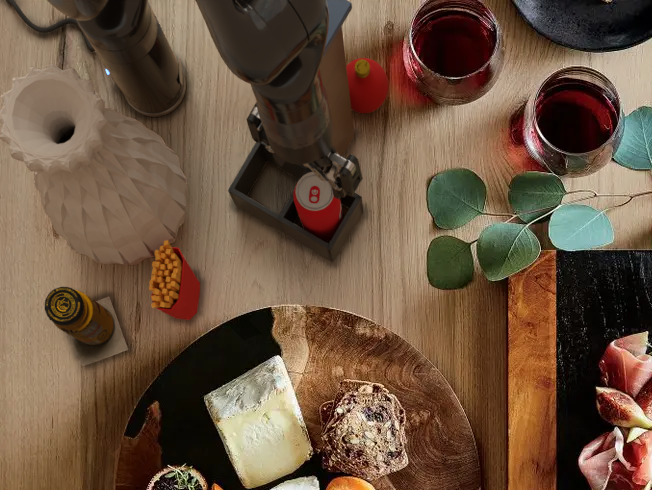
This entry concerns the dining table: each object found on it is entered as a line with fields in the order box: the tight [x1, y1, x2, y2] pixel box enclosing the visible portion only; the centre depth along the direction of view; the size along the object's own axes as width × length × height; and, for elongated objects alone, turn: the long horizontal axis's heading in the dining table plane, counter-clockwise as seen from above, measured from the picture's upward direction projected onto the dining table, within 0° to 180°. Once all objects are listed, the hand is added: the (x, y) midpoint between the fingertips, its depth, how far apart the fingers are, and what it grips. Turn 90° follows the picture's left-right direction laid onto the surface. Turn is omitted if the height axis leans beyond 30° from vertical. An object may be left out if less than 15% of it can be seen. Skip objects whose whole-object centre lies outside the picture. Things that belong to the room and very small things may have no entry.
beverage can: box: [293, 172, 345, 243], centre depth 116 cm, size 6×6×12 cm
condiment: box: [44, 286, 129, 367], centre depth 116 cm, size 7×8×12 cm
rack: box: [227, 141, 365, 264], centre depth 119 cm, size 17×9×6 cm, turn 60°
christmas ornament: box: [346, 57, 389, 114], centre depth 117 cm, size 7×7×10 cm
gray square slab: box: [323, 0, 353, 57], centre depth 91 cm, size 11×10×1 cm
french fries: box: [148, 240, 201, 321], centre depth 116 cm, size 9×4×13 cm, turn 173°
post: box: [319, 25, 355, 171], centre depth 107 cm, size 9×8×30 cm
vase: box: [0, 63, 188, 266], centre depth 107 cm, size 20×20×30 cm
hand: (311, 175), depth 105 cm, fingers open, 8 cm apart
